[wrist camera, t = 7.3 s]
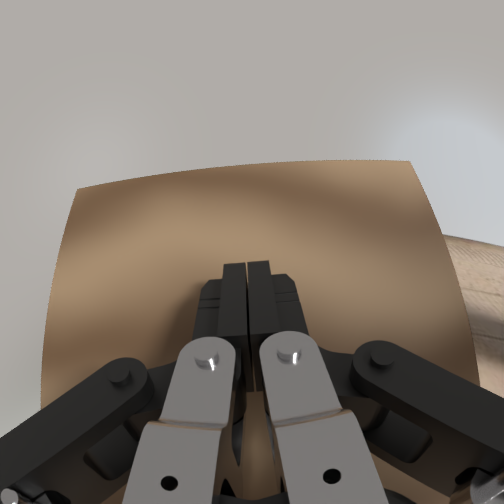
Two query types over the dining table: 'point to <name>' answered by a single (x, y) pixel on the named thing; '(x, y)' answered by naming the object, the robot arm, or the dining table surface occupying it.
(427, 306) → the box lid
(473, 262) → the dining table surface
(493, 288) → the dining table surface
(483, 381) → the dining table surface
